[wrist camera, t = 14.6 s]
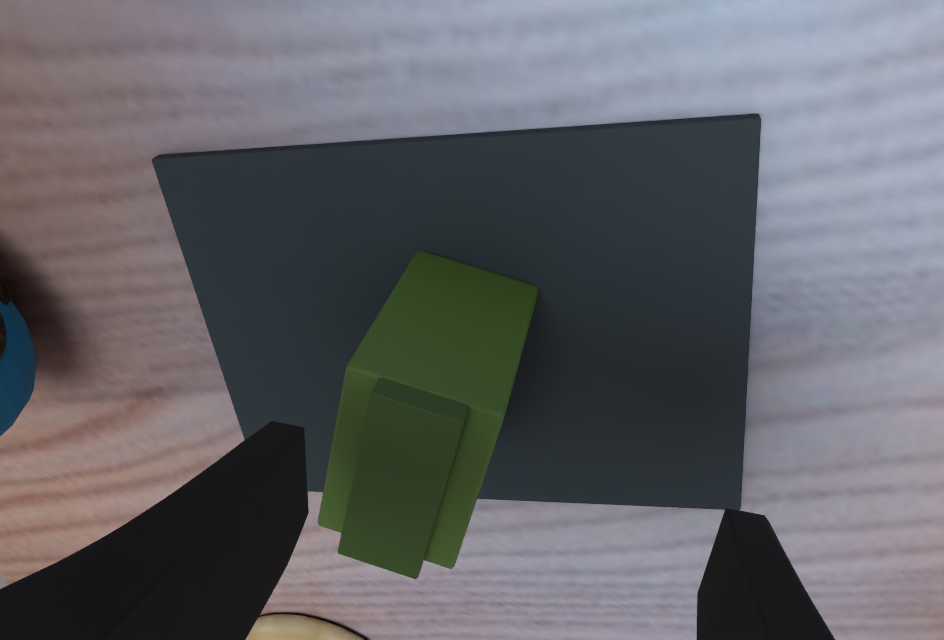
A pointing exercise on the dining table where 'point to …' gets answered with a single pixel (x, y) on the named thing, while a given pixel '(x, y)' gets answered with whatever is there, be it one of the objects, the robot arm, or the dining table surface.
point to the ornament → (14, 360)
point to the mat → (512, 255)
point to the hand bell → (297, 629)
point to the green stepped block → (424, 413)
